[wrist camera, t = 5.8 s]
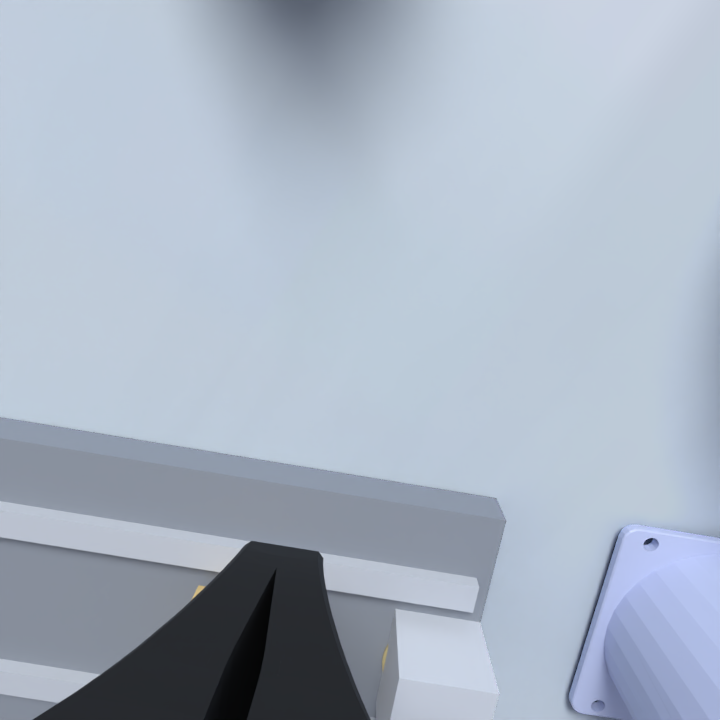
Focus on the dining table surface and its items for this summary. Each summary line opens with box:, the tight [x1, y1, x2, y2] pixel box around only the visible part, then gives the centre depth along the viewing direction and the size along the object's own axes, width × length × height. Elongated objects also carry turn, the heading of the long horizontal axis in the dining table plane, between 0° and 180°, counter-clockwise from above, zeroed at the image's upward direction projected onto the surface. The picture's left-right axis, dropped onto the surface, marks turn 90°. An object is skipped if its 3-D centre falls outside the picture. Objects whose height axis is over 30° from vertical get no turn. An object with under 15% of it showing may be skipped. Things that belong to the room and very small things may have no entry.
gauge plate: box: [0, 418, 506, 720], centre depth 18 cm, size 19×12×6 cm, turn 81°
